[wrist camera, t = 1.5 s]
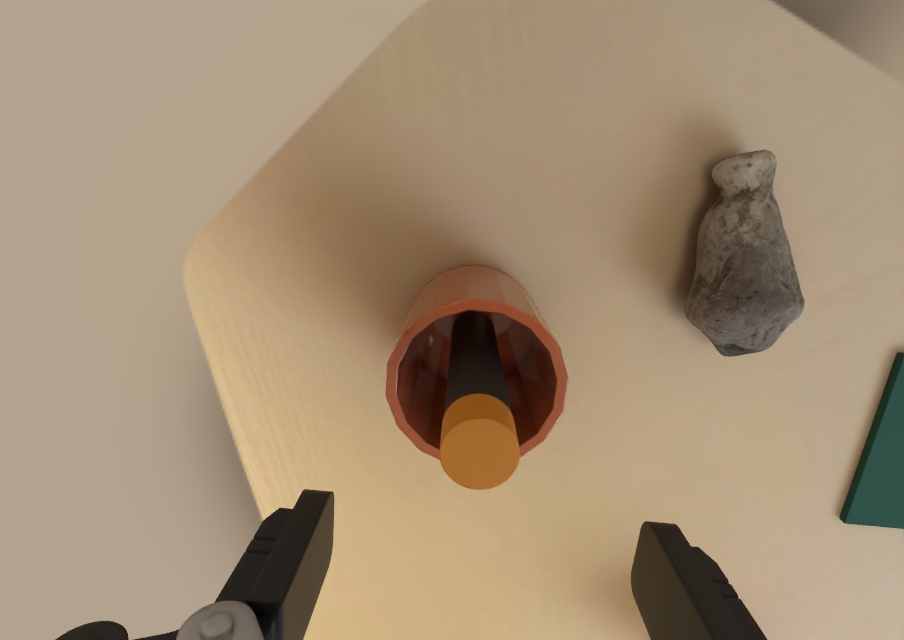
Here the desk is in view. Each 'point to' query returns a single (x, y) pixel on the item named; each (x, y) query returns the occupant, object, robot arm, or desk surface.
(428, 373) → the pen cup
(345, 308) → the desk surface
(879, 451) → the mat
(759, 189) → the stone
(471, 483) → the marker
